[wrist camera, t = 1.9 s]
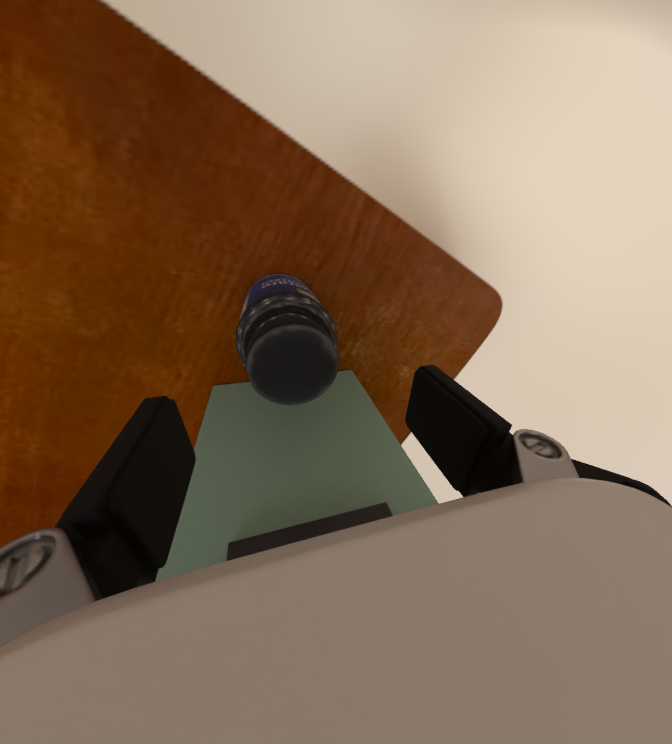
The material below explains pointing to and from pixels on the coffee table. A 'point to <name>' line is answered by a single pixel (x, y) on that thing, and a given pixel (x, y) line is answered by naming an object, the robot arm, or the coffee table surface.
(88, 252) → the coffee table surface
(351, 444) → the slim lidded bin
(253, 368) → the pill bottle
